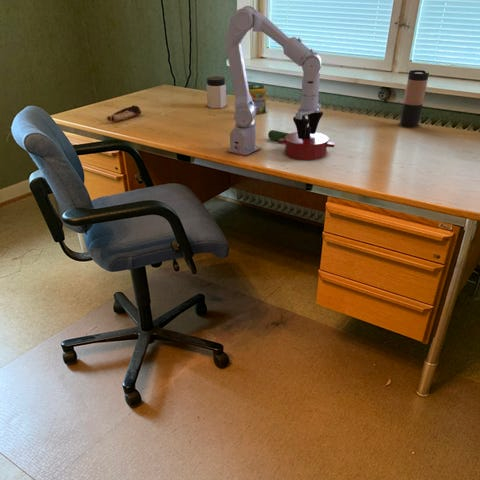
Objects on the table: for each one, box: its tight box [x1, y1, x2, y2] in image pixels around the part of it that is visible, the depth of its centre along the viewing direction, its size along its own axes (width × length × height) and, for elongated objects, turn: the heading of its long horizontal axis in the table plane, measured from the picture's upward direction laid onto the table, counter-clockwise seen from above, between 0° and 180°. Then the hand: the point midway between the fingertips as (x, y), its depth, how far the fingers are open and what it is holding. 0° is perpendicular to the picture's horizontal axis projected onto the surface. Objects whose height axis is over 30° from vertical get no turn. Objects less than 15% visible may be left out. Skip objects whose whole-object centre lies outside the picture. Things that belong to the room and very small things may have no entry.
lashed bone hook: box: [106, 104, 142, 122], centre depth 212 cm, size 9×5×18 cm
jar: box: [205, 75, 227, 109], centre depth 226 cm, size 9×8×12 cm
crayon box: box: [248, 83, 267, 114], centre depth 216 cm, size 7×3×12 cm, turn 105°
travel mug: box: [399, 69, 430, 129], centre depth 197 cm, size 8×8×20 cm
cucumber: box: [267, 129, 291, 142], centre depth 186 cm, size 10×3×3 cm, turn 55°
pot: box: [277, 138, 336, 161], centre depth 174 cm, size 14×20×5 cm
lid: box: [285, 125, 330, 146], centre depth 171 cm, size 15×15×5 cm
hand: (306, 136), depth 172 cm, fingers open, 7 cm apart
